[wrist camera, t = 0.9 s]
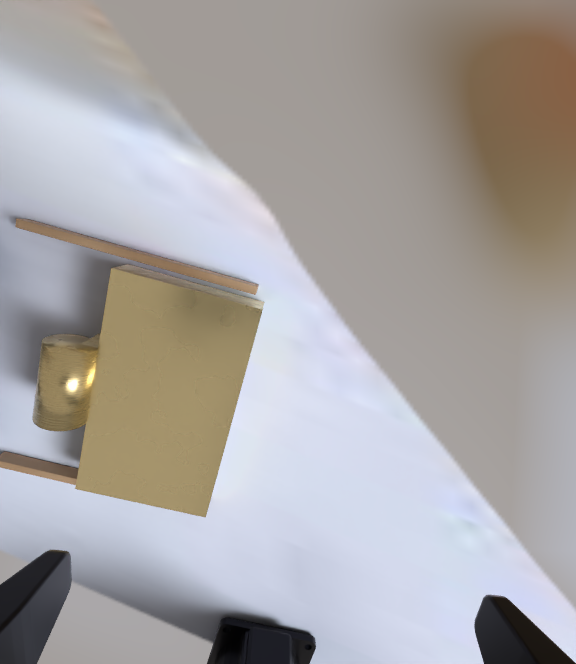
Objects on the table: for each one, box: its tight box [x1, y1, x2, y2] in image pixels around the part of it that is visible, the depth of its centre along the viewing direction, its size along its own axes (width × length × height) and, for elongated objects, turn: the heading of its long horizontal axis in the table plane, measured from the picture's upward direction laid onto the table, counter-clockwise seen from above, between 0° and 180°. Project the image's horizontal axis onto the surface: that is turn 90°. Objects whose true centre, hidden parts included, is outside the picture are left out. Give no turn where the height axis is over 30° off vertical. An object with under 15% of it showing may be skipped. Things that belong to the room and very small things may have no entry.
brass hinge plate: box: [33, 264, 264, 517], centre depth 19 cm, size 12×9×3 cm
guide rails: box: [0, 219, 258, 485], centre depth 20 cm, size 14×12×1 cm
